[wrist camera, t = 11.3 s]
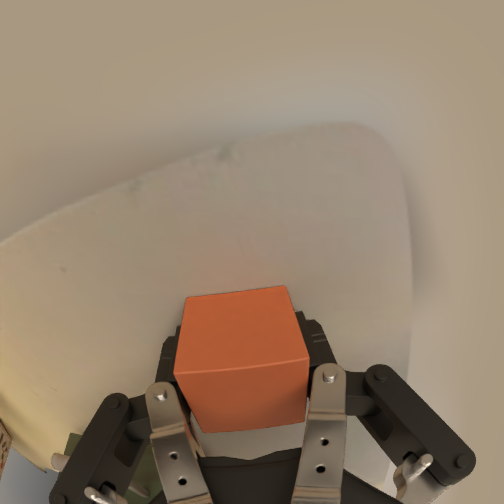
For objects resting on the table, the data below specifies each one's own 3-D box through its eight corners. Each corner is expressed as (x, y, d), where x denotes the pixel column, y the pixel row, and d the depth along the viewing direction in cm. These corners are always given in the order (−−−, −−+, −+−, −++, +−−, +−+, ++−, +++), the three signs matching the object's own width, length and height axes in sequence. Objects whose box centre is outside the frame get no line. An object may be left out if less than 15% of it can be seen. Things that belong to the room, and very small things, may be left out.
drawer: (40, 401, 15) (13, 475, 8) (176, 416, 15) (169, 523, 8) (129, 480, 23) (123, 529, 16) (225, 486, 24) (229, 540, 16)
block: (186, 296, 13) (172, 373, 8) (285, 284, 13) (310, 358, 9) (205, 363, 15) (202, 433, 10) (288, 353, 15) (305, 422, 11)
